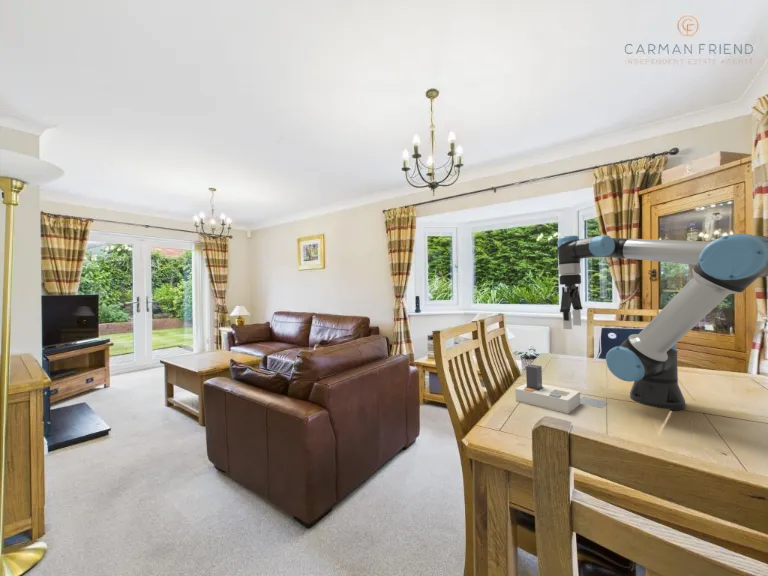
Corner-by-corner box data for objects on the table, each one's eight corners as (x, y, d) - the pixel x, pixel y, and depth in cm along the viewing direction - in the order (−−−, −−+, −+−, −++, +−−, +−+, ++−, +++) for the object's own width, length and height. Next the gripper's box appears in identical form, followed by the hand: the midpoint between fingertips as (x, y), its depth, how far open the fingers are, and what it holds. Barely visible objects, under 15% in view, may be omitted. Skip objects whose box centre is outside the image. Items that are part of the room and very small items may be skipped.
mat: (608, 403, 114) (608, 401, 114) (602, 409, 109) (602, 408, 109) (583, 398, 120) (583, 396, 120) (576, 403, 115) (576, 402, 115)
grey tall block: (542, 397, 120) (541, 366, 120) (537, 400, 117) (536, 368, 117) (531, 395, 123) (530, 364, 123) (527, 397, 120) (526, 366, 120)
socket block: (580, 405, 114) (579, 390, 114) (568, 415, 106) (567, 399, 106) (529, 393, 127) (529, 380, 127) (515, 401, 119) (515, 387, 119)
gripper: (568, 275, 140) (571, 323, 140) (549, 275, 122) (552, 330, 122) (588, 274, 135) (590, 324, 134) (571, 273, 117) (574, 331, 117)
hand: (572, 327), depth 128 cm, fingers open, 13 cm apart
